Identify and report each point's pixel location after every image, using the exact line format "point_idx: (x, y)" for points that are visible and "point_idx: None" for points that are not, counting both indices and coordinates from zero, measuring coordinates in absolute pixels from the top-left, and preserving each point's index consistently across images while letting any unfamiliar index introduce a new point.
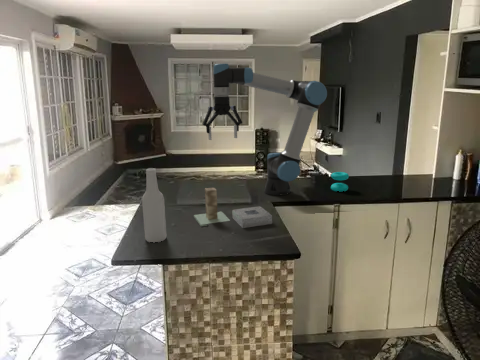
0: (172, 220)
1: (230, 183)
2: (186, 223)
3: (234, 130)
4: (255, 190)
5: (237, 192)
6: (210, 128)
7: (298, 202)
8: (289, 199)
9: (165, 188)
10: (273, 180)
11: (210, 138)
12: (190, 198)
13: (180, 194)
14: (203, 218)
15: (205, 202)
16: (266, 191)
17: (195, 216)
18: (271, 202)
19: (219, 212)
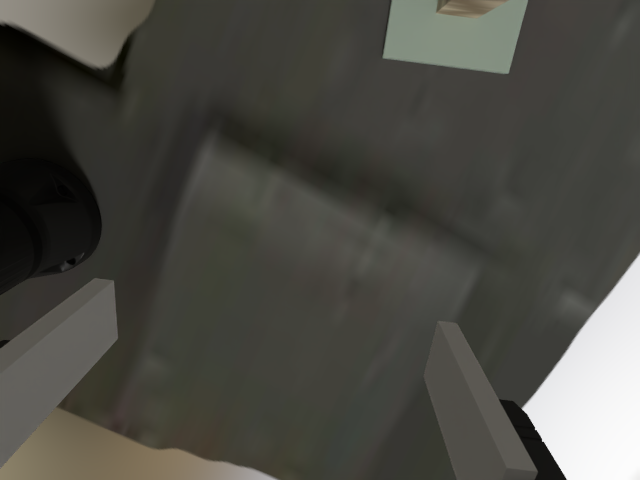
0: (598, 78)
1: (187, 406)
2: (572, 6)
3: (54, 386)
4: (126, 280)
5: (206, 291)
6: (505, 443)
7: (3, 24)
8: (29, 89)
9: (430, 457)
10: (26, 208)
11: (456, 332)
12: (404, 308)
13: (415, 370)
14: None
15: (504, 2)
16: (93, 217)
17: (511, 50)
18: (122, 91)
19: (397, 48)
